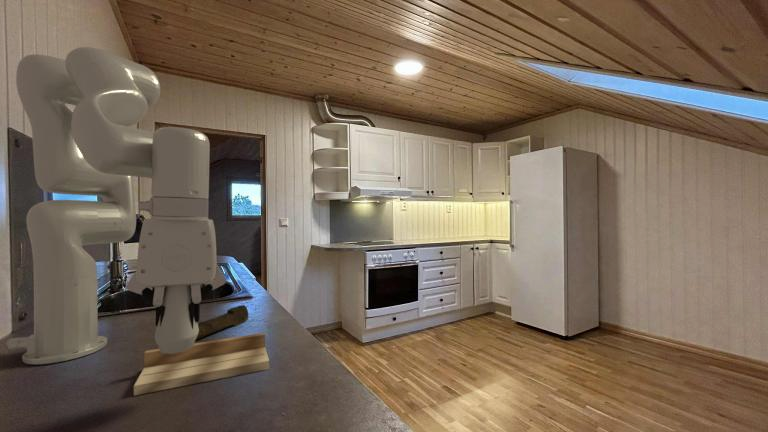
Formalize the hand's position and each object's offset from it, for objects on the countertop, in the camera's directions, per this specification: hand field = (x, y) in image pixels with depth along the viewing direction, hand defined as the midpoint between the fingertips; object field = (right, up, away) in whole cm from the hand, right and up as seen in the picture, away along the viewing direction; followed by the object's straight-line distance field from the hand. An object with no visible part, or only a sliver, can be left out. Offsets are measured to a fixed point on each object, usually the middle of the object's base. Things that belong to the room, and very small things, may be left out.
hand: (178, 327), depth 51 cm
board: (0, -11, +9) cm, 14 cm away
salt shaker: (0, -4, 0) cm, 4 cm away
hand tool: (-9, -11, +29) cm, 33 cm away
